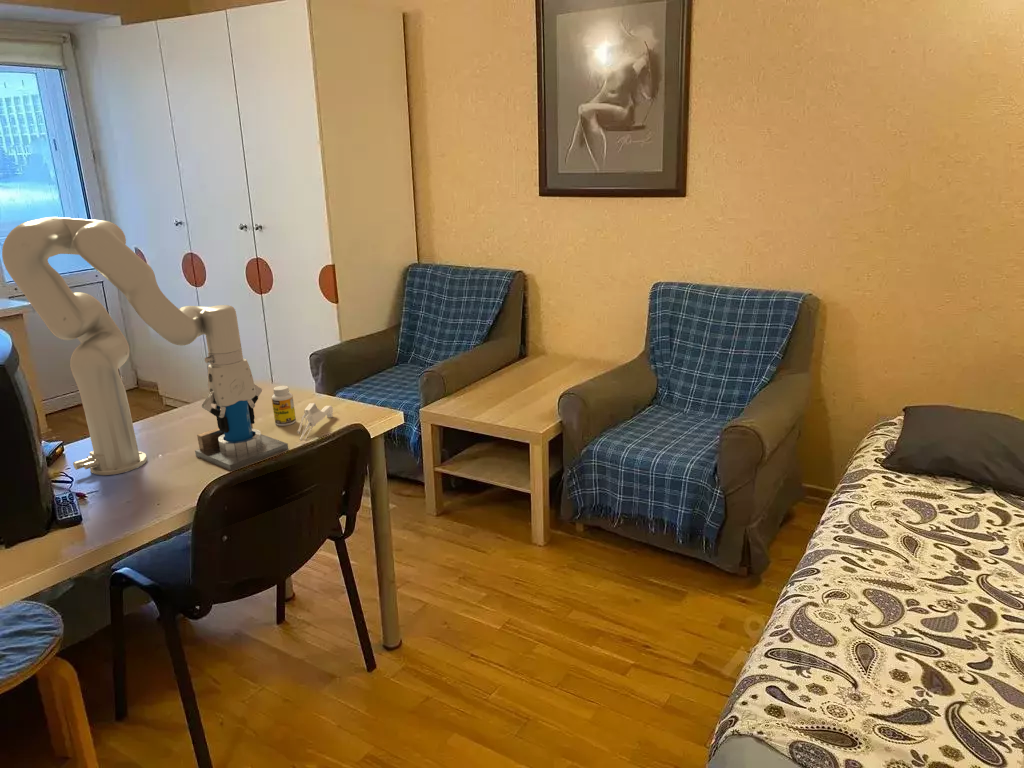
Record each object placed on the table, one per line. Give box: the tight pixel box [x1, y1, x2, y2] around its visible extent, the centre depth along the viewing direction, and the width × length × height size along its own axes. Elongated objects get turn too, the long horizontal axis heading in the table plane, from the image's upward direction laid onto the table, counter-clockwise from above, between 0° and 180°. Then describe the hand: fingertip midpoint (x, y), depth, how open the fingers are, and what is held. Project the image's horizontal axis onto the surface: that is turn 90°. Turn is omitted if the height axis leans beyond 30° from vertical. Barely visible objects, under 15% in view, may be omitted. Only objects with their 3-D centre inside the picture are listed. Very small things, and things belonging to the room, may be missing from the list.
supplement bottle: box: [271, 385, 297, 427], centre depth 211 cm, size 6×6×10 cm
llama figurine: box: [296, 402, 334, 441], centre depth 207 cm, size 2×11×18 cm
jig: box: [194, 424, 289, 472], centre depth 192 cm, size 16×16×6 cm
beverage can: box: [224, 400, 253, 442], centre depth 191 cm, size 6×6×12 cm
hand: (237, 426), depth 191 cm, fingers closed on beverage can, 6 cm apart
